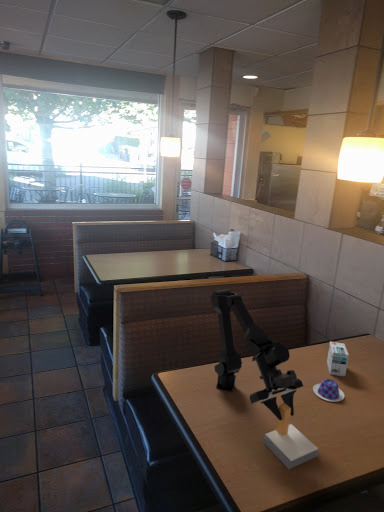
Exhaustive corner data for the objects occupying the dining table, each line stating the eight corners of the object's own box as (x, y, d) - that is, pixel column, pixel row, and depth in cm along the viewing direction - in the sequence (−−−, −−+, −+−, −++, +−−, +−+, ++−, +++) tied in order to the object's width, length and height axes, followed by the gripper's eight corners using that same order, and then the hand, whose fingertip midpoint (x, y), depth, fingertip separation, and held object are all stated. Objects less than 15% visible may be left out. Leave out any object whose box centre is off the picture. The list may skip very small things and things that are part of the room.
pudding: (306, 391, 153) (308, 380, 152) (322, 381, 161) (324, 370, 159) (334, 407, 144) (336, 395, 143) (349, 395, 152) (352, 384, 151)
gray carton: (263, 442, 124) (264, 436, 123) (291, 431, 130) (291, 425, 129) (288, 469, 114) (289, 462, 113) (317, 456, 120) (318, 449, 119)
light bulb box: (345, 377, 164) (349, 354, 161) (329, 374, 165) (333, 352, 163) (341, 364, 174) (345, 343, 171) (326, 362, 176) (329, 341, 173)
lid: (265, 435, 124) (268, 408, 121) (290, 425, 129) (294, 399, 126) (291, 461, 114) (295, 433, 111) (317, 449, 119) (322, 422, 116)
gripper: (258, 369, 118) (278, 422, 111) (303, 357, 126) (323, 405, 120) (241, 378, 126) (258, 427, 120) (284, 366, 135) (302, 411, 129)
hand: (286, 417), depth 122 cm, fingers open, 5 cm apart
